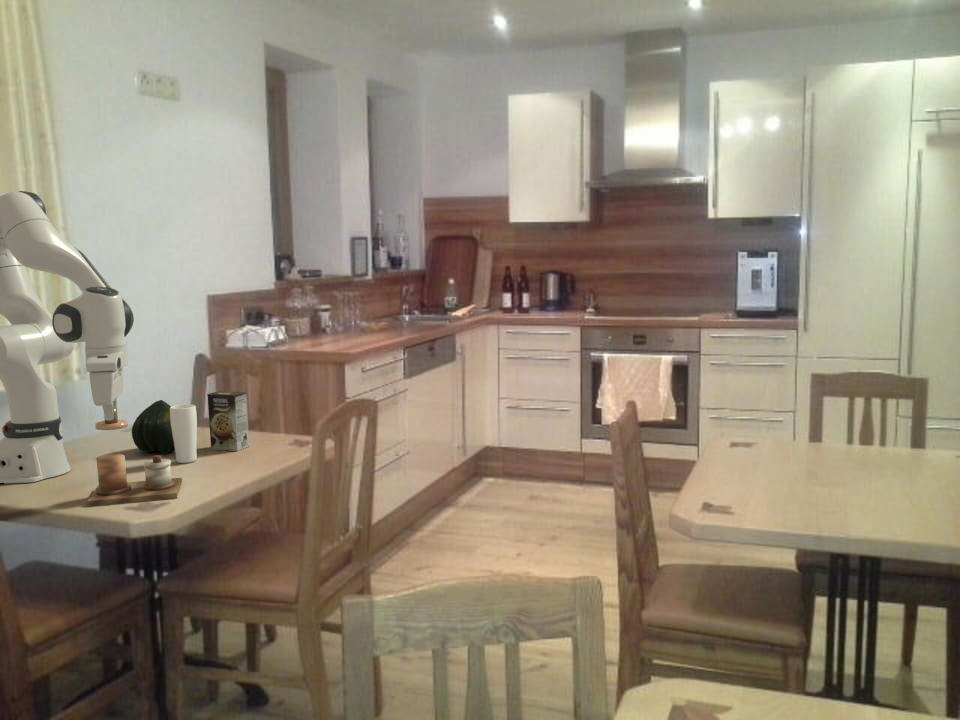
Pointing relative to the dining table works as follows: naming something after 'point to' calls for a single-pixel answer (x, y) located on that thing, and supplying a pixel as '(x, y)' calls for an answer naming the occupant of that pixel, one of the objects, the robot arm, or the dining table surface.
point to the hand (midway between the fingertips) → (110, 418)
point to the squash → (154, 429)
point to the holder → (120, 491)
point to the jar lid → (111, 423)
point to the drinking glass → (184, 432)
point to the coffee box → (228, 420)
